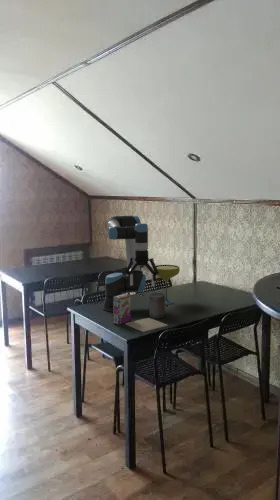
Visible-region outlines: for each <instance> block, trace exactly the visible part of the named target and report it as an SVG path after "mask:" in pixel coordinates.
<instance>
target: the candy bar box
mask: <svg viewBox="0 0 280 500" xmlns="http://www.w3.org/2000/svg"><path fill="white" fill-rule="evenodd" d="M112 314H113V315H112V317H113V319H112V321H113V324H114V325H118V326H120V325H123V324H125V323H128V322H132V294H129V293H123V294H122V295H118V296H115V297H113V313H112Z"/></svg>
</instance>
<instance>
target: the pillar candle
mask: <svg viewBox="0 0 280 500" xmlns="http://www.w3.org/2000/svg"><path fill="white" fill-rule="evenodd" d="M148 296H149V298H148V300H149V304H148V305H149V306H148V307H149V318H151V319H162V318H164V317H166V305H165V298H166V294H165V293H160V292H153V293H150V294H148Z"/></svg>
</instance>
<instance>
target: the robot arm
mask: <svg viewBox="0 0 280 500" xmlns="http://www.w3.org/2000/svg"><path fill="white" fill-rule="evenodd" d="M148 227H149V226H148V224H147V223H142V222H141V219H140V217H139V216H138V215H133V214H132V215H114V216H111V217H109V218H108V219H107V220H106V222H105V223H104V228H105V231H106V232H107V235H108V240H124V241H125V255H126V267H127V268H126V270H125V275H124V274H123V272H113V273H110V274H107V275H106V276H105V281H104V284H105V286H104V287H105V292H104V293H105V298H104V302H103V305H102V310H104V311H106V312H111V313H112V312H113V297H115V296H118V295H122V294H129V293H143V292H144V291H145V289H146V283H147V280H146V279H147V278H146V277H147V276H146V274H144V271H142V270H141V267H144V266H145V267H146V268H147V270H149V272H150V273H151V274H152V275H151V287H155V281H156V280H157V274H159V272H158V269H157V267H156V266H157V264H156V263H155V261H154V259H155V258H154V257H151V258H149V251H148V249H149V228H148ZM149 262H150V264H151V265H150V264H149ZM153 269H154V270H153Z"/></svg>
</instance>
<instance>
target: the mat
mask: <svg viewBox="0 0 280 500" xmlns="http://www.w3.org/2000/svg"><path fill="white" fill-rule="evenodd" d="M124 325H126V326H128V327H130V328H133V329H135V330H137V331H139V332H141V331H142V332H141V333H146V332H150V331H154V330H158V329H161V328H166V327H168V326H169V325H168V324H167V323H164V322H162V321H158V320H156V319H155V318H152V317H145V318H141V319H137V320H133V321H132V320H131V321H128V322H126V323H124ZM157 328H158V329H157Z"/></svg>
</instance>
